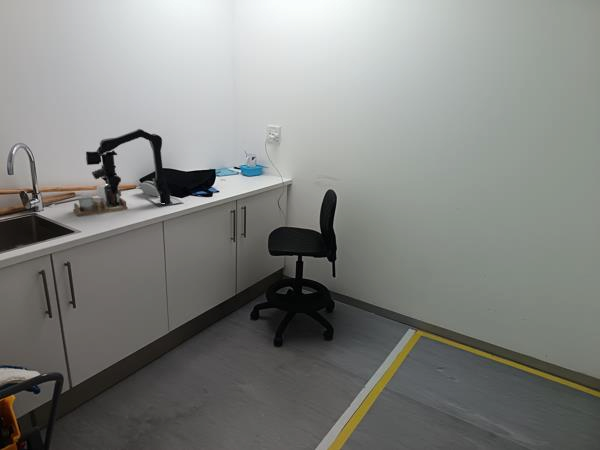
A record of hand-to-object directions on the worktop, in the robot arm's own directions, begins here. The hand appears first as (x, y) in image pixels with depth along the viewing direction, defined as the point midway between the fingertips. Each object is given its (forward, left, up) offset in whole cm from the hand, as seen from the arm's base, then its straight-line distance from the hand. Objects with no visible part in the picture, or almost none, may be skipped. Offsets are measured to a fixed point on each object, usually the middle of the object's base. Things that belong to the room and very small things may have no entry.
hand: (111, 192), depth 220 cm
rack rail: (0, +6, -10) cm, 11 cm away
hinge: (+19, -28, -10) cm, 35 cm away
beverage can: (0, 0, -8) cm, 8 cm away
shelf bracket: (+16, -2, -10) cm, 19 cm away
